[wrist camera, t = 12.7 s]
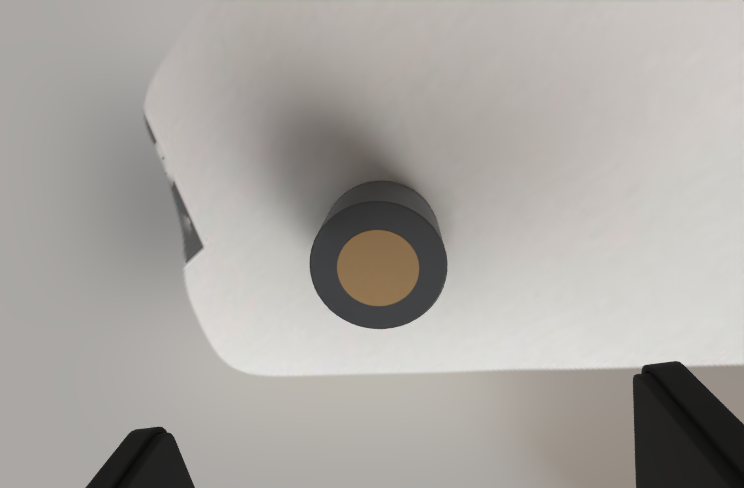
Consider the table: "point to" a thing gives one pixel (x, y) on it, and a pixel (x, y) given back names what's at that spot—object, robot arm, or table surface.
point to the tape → (379, 256)
